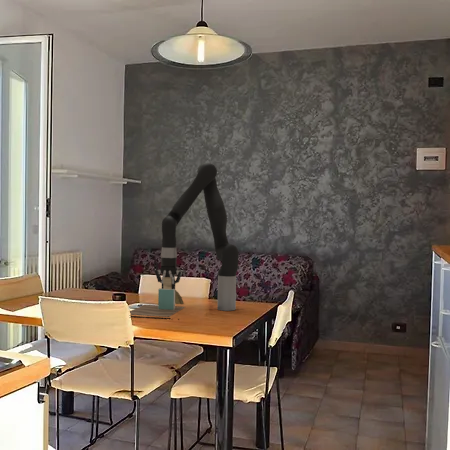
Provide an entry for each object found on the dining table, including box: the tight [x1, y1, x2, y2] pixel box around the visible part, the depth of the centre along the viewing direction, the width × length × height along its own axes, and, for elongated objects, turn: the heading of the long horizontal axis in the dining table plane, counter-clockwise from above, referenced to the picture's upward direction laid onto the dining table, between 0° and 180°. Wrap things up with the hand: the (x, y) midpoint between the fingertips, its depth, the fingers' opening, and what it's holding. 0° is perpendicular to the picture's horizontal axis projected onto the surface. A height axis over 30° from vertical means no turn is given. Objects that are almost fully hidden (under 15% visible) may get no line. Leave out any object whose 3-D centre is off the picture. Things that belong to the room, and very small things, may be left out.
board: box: [130, 304, 186, 320], centre depth 258 cm, size 28×22×1 cm
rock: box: [175, 289, 185, 305], centre depth 278 cm, size 11×9×10 cm
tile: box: [157, 287, 176, 310], centre depth 261 cm, size 2×8×10 cm, turn 78°
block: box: [162, 276, 172, 289], centre depth 264 cm, size 4×4×9 cm
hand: (168, 291), depth 264 cm, fingers closed on block, 4 cm apart
